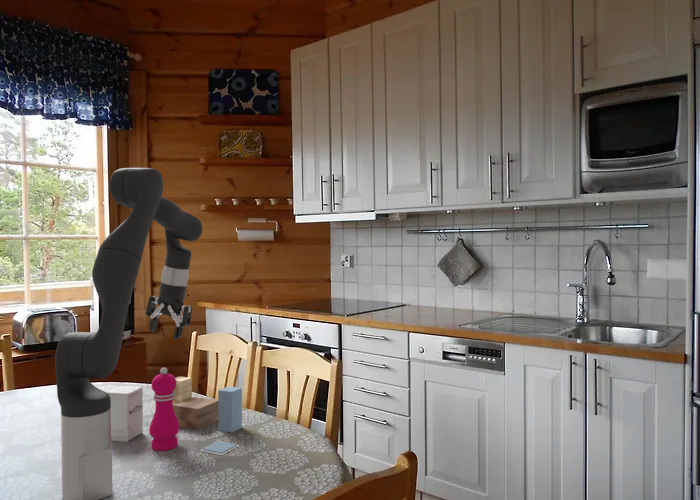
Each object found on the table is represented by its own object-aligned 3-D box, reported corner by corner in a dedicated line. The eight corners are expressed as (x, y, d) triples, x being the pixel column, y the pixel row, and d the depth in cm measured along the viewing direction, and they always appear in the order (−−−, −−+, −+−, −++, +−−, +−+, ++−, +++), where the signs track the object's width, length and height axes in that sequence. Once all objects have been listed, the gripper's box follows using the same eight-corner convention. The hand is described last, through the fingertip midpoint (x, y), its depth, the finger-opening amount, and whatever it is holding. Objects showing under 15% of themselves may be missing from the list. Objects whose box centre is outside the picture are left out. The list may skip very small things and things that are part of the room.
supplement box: (128, 442, 145) (127, 393, 145) (102, 440, 147) (101, 392, 147) (144, 432, 153) (143, 386, 152) (119, 431, 154) (118, 385, 154)
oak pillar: (192, 414, 169) (191, 377, 168) (181, 418, 165) (181, 381, 164) (180, 412, 171) (179, 376, 170) (169, 416, 167) (169, 379, 166)
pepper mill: (143, 448, 141) (142, 369, 141) (165, 439, 147) (164, 363, 147) (164, 453, 137) (163, 372, 137) (185, 444, 144) (184, 366, 144)
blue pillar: (242, 427, 157) (241, 388, 156) (232, 432, 153) (231, 392, 152) (228, 425, 159) (228, 386, 158) (218, 430, 154) (218, 390, 154)
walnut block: (218, 421, 163) (218, 400, 163) (198, 430, 155) (198, 409, 155) (194, 417, 167) (193, 397, 167) (172, 426, 158) (172, 405, 158)
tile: (239, 446, 142) (239, 444, 142) (222, 455, 136) (222, 453, 136) (217, 442, 145) (217, 440, 145) (200, 451, 139) (200, 448, 139)
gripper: (146, 277, 166) (137, 330, 167) (186, 288, 161) (177, 343, 162) (162, 276, 173) (153, 327, 174) (201, 286, 168) (192, 338, 170)
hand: (164, 334), depth 168 cm, fingers open, 8 cm apart
